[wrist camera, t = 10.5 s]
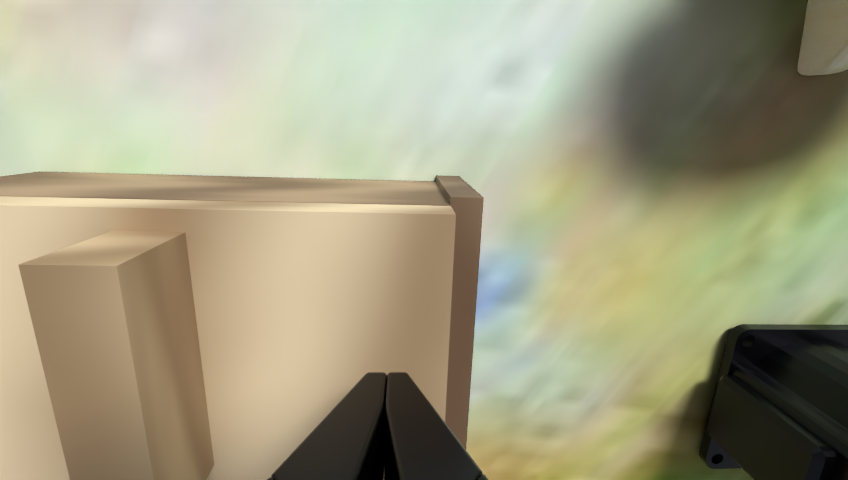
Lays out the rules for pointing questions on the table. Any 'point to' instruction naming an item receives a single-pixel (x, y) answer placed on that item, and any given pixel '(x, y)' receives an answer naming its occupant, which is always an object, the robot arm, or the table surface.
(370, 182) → the tan boxy piece
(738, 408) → the robot arm
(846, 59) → the toy table
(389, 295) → the lid
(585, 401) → the table surface
